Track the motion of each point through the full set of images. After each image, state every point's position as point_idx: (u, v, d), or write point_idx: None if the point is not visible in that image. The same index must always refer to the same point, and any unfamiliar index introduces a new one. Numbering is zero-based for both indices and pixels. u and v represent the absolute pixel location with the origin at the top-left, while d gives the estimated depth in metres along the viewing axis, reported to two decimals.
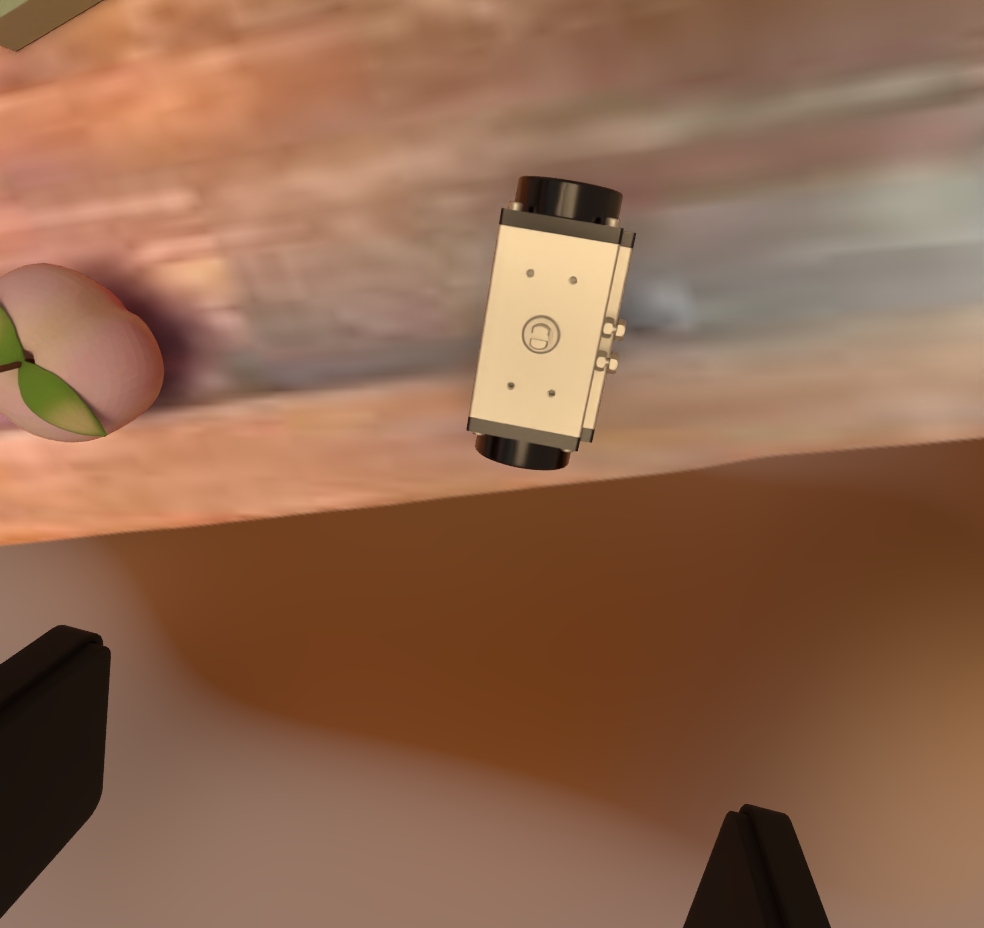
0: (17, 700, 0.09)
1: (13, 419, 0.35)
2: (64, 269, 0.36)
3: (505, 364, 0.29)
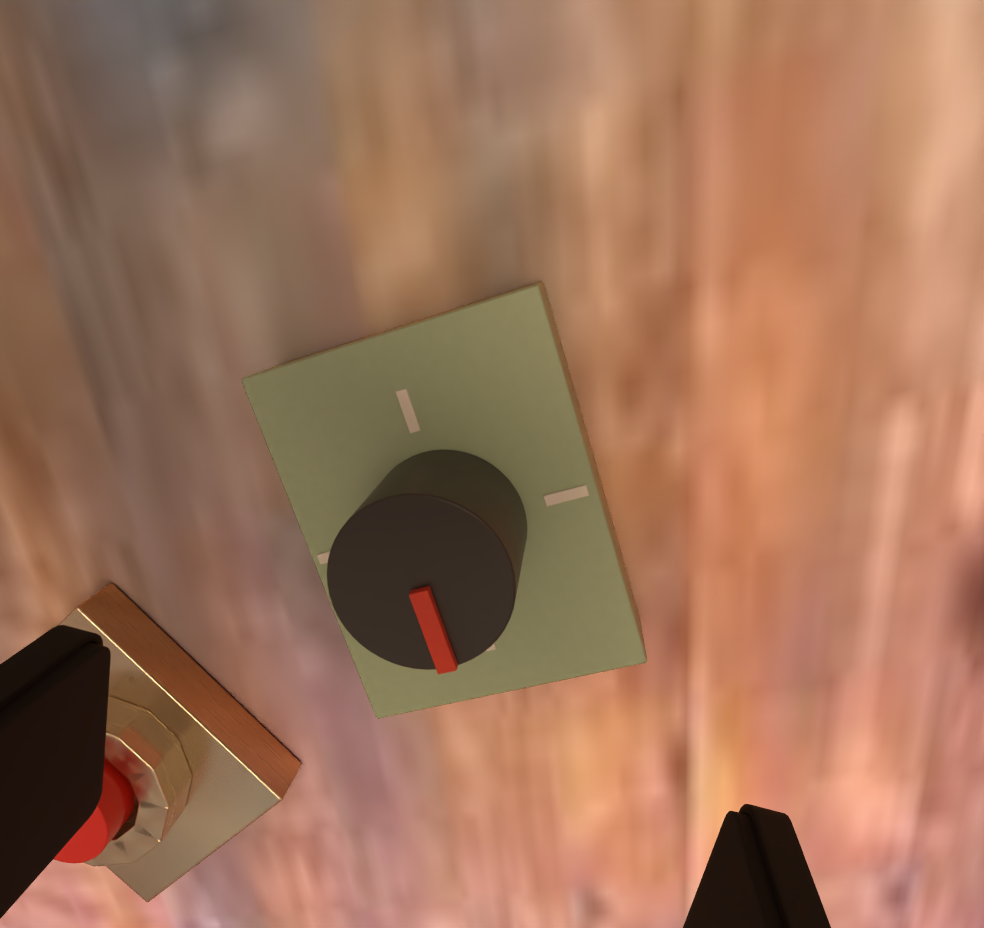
0: (17, 700, 0.09)
1: None
2: None
3: None
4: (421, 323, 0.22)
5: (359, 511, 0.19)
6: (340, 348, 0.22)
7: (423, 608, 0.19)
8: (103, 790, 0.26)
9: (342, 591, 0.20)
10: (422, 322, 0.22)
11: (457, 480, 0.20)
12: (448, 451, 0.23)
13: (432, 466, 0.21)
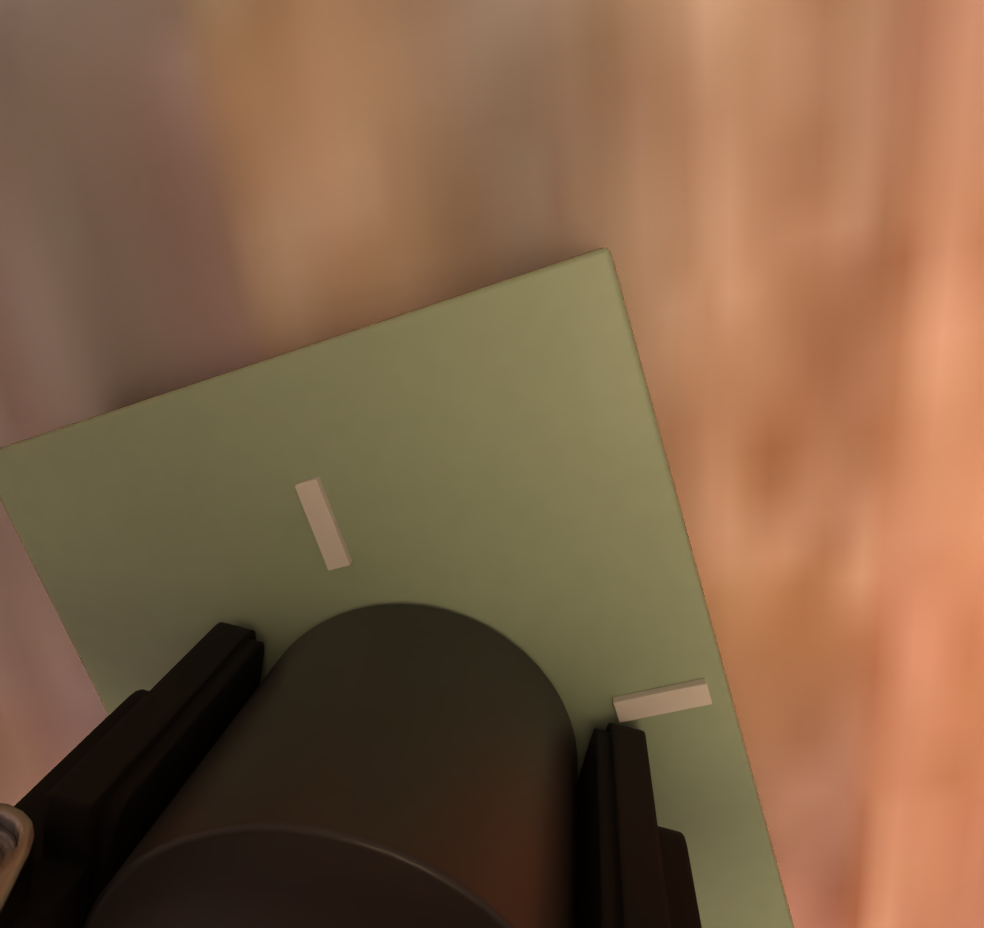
0: (205, 690, 0.10)
1: None
2: None
3: None
4: (345, 337, 0.10)
5: (141, 859, 0.07)
6: (175, 392, 0.10)
7: None
8: None
9: None
10: (347, 335, 0.10)
11: (419, 728, 0.08)
12: (409, 611, 0.11)
13: (364, 675, 0.09)
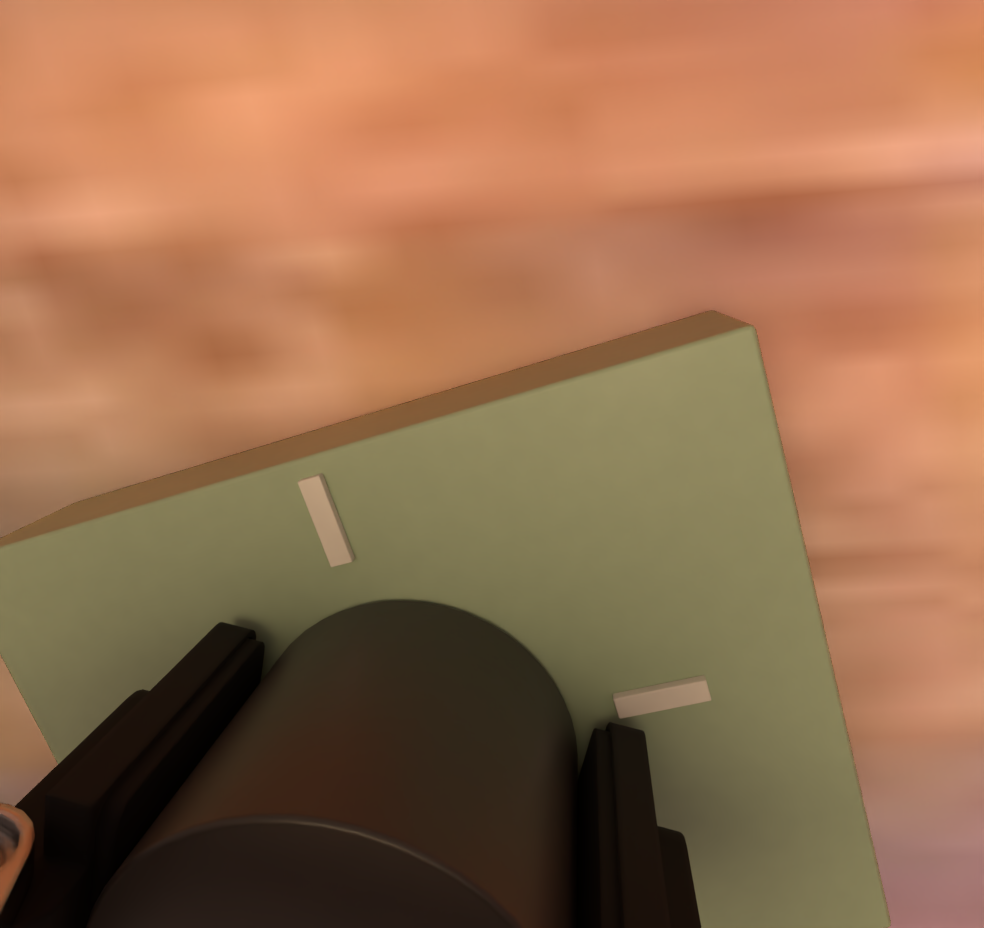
0: (205, 689, 0.10)
1: None
2: None
3: None
4: (52, 751, 0.13)
5: (149, 849, 0.07)
6: None
7: None
8: None
9: None
10: (51, 749, 0.13)
11: (424, 723, 0.08)
12: (412, 607, 0.11)
13: (368, 670, 0.09)
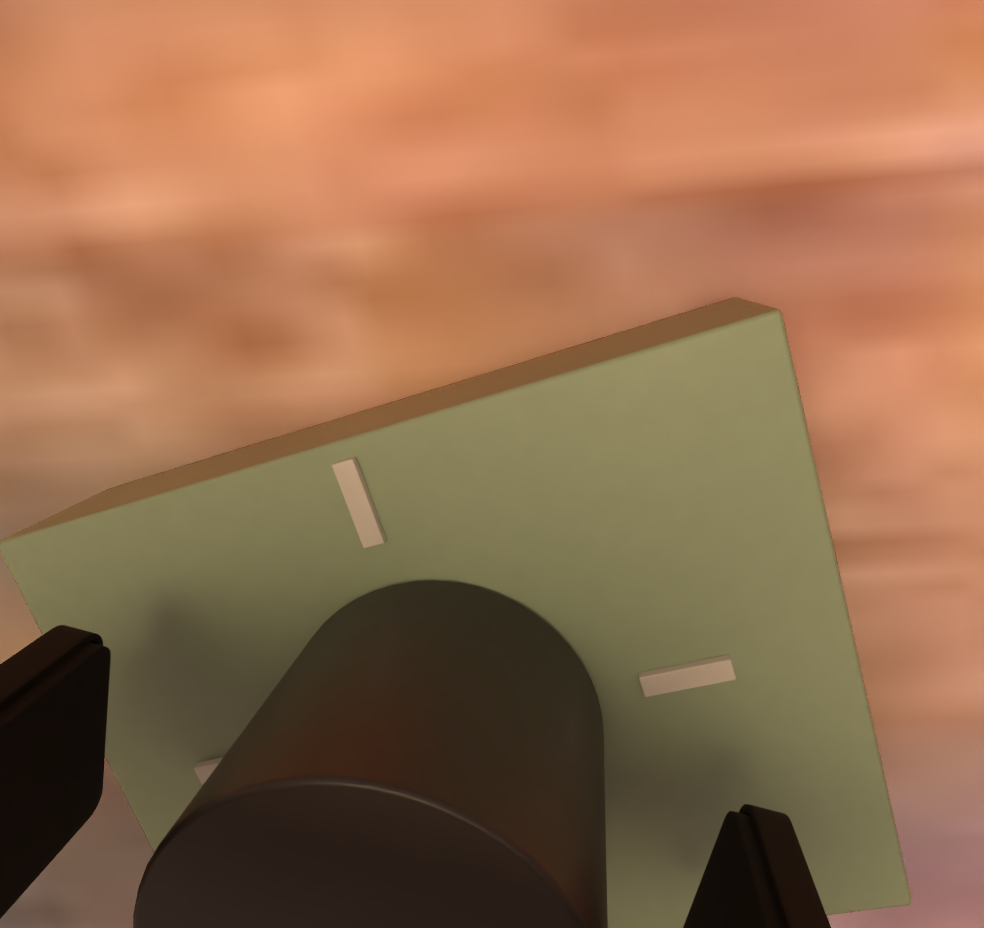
0: (17, 700, 0.09)
1: None
2: None
3: None
4: None
5: (202, 809, 0.07)
6: None
7: None
8: None
9: None
10: None
11: (462, 695, 0.08)
12: (444, 587, 0.11)
13: (404, 646, 0.09)
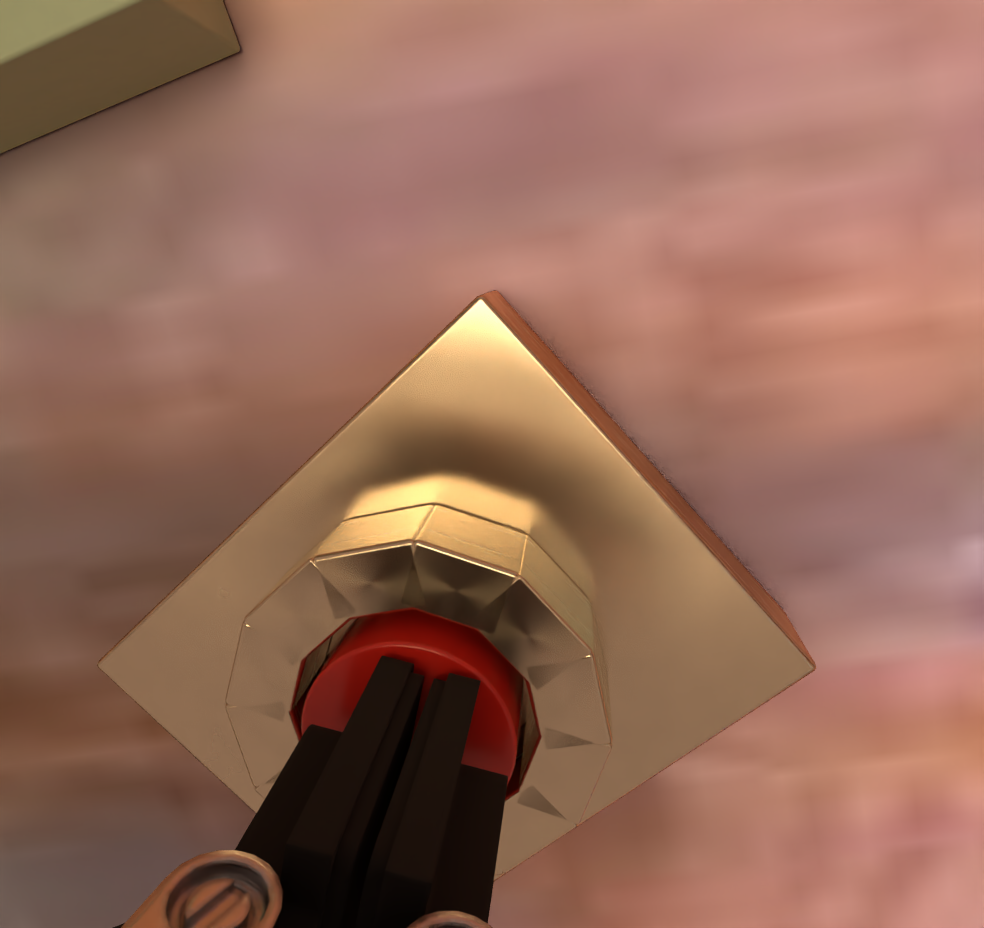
0: (391, 728, 0.10)
1: None
2: None
3: None
4: None
5: None
6: None
7: None
8: (347, 641, 0.12)
9: None
10: None
11: None
12: None
13: None
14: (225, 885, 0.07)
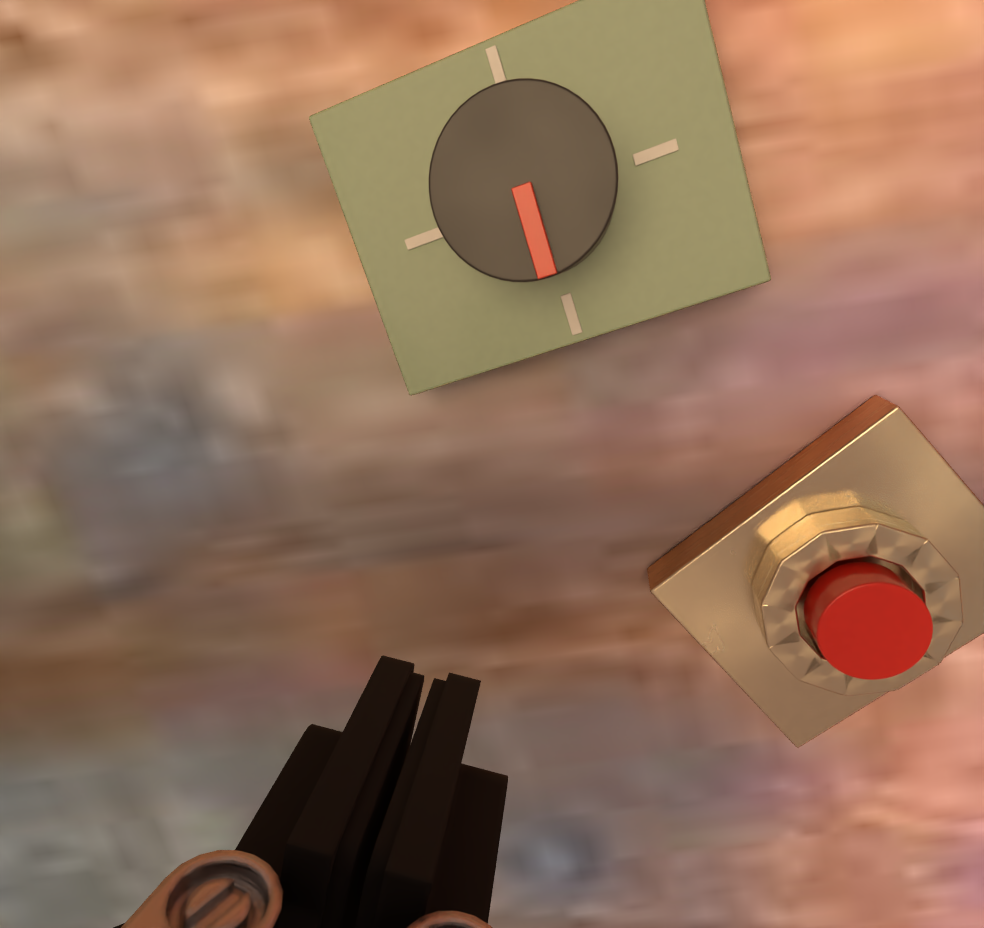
0: (391, 728, 0.10)
1: None
2: None
3: None
4: (349, 226, 0.25)
5: (463, 103, 0.19)
6: (376, 302, 0.26)
7: (525, 202, 0.19)
8: (838, 583, 0.24)
9: (443, 196, 0.20)
10: (348, 225, 0.25)
11: None
12: None
13: None
14: (225, 885, 0.07)
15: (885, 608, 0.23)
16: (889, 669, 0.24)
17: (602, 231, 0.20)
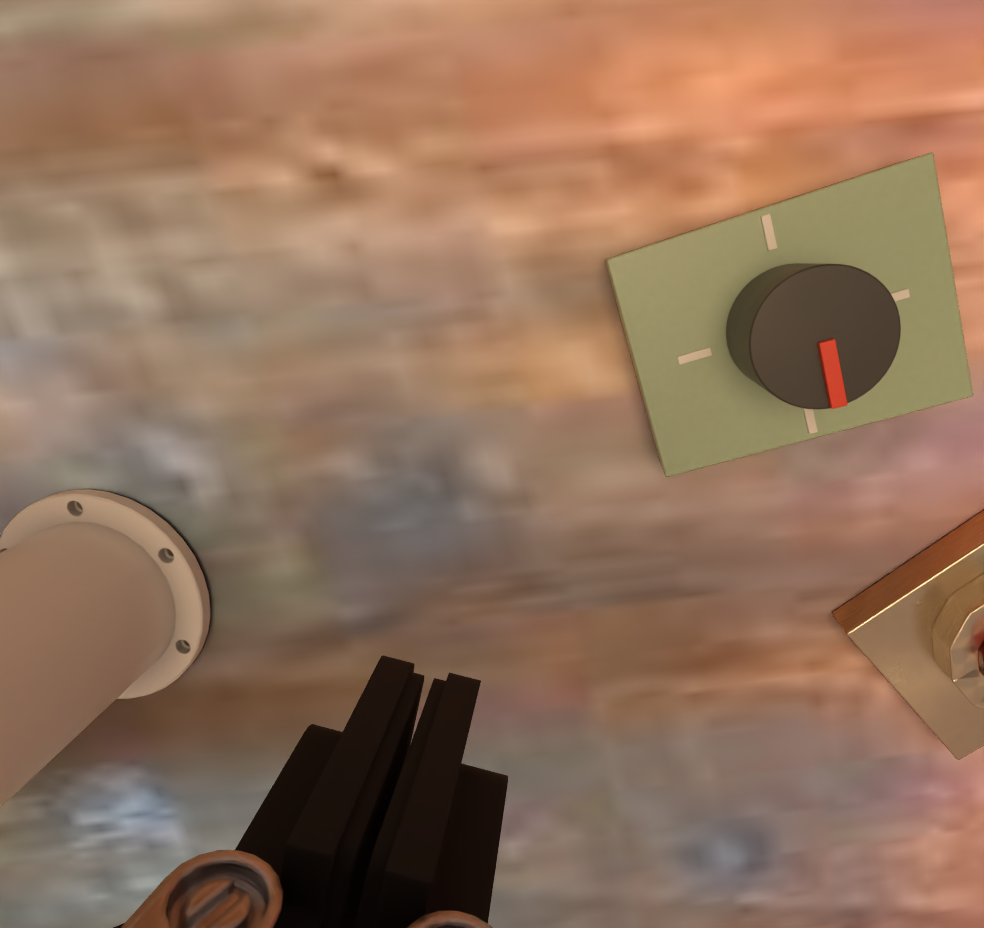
0: (391, 728, 0.10)
1: None
2: None
3: None
4: (630, 344, 0.31)
5: (785, 279, 0.25)
6: (646, 403, 0.32)
7: (829, 354, 0.26)
8: None
9: (761, 345, 0.26)
10: (630, 343, 0.31)
11: None
12: None
13: (810, 263, 0.27)
14: (225, 885, 0.07)
15: None
16: None
17: None
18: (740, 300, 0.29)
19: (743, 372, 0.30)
